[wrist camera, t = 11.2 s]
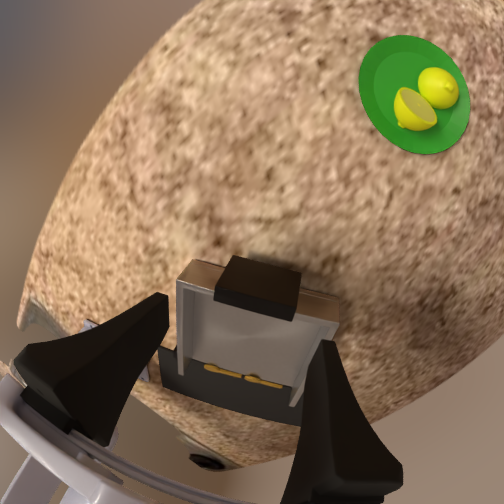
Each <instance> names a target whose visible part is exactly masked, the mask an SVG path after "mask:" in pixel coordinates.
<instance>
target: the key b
mask: <svg viewBox="0 0 504 504" xmlns="http://www.w3.org/2000/svg"><path fill="white" fill-rule="evenodd" d="M244 379H245V380H247V381H250V382H254V383H260V384H264V385H268V386H272V387H276V388H282V387H283V385H279V384H275V383H271V382H267V381H263V380H261V379H258V378H255V377H251V376H245V378H244Z"/></svg>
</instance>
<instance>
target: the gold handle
mask: <svg viewBox="0 0 504 504" xmlns="http://www.w3.org/2000/svg"><path fill="white" fill-rule="evenodd" d="M173 355H174V358H176V359H178V357H177V345H176V347H175V349H174V351H173ZM302 394H303V395H304V392H303V393H302Z"/></svg>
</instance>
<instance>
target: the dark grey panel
mask: <svg viewBox="0 0 504 504" xmlns="http://www.w3.org/2000/svg"><path fill="white" fill-rule="evenodd" d="M157 350H158V358H159V365H160V372H161V379H162V385H163V387H165V388H167V389H170V390H172V391H175V392H177V393H180V394H183V395H186V396H188V397H191V398H194V399H197V400H200V401H203V402H206V403H209V404H212V405H215V406H218V407H221V408H225V409H228V410H232V411H235V412H239V413H242V414H246V415H250V416H254V417H258V418H262V419H266V420H270V421H275V422H279V423H284V424H289V425H294V426H300V427H301V421H302V409H303V397H304V395H303V394H302V395H301V397H300V398H299V400H298V402H297V403H296V405H295V407H291V406H289V401H290V395H291V389H292V387H291V386H286V385H283V387H282V388H276V387H272V386H268V385H264V384H260V383H254V382H250V381H247V380H245V379H244V378H245V376H247V375H243V374H242V376H241V378H238V377H234V376H230V375H226V374H223V373H217V372H212V371H209V370H207V369H205V368H204V365H205V364H207V363H204V362H201V361H198V360H195V359H192V360H191V362H190V364H189V366H188V368H187V370H186V372H185V374H184V376H183V375H180V374H178V359H176V358H174V355H173V351H172V350H170V349H167V348H164V347H162V346H159V347H158V349H157ZM208 365H210V364H208ZM218 368H219V367H218ZM220 369H223V368H220ZM223 370H226V369H223ZM227 371H229V370H227ZM231 372H233V371H231ZM235 373H236V372H235ZM239 374H240V373H239ZM261 380H262V379H261ZM263 381H266V380H263ZM267 382H270V381H267ZM271 383H274V382H271ZM275 384H278V383H275ZM279 385H282V384H279Z"/></svg>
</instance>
